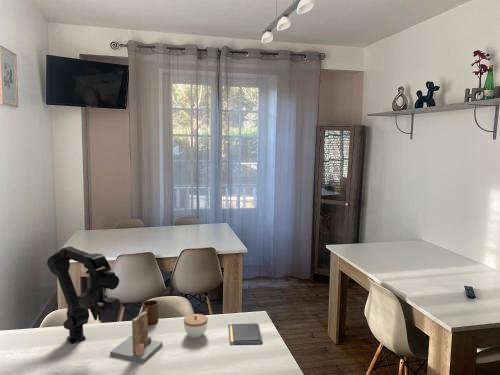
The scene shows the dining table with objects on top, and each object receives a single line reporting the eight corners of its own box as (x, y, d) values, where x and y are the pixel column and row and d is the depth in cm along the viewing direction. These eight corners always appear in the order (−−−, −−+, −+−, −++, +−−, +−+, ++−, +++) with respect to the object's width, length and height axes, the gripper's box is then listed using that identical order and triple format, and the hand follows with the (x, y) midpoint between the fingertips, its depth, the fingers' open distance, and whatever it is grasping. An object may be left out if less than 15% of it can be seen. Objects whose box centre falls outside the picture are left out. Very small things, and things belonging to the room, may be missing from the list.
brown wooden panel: (144, 342, 165) (144, 311, 164) (147, 343, 165) (147, 311, 164) (132, 353, 157) (132, 320, 156) (135, 353, 157) (135, 320, 155)
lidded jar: (211, 336, 175) (211, 317, 174) (190, 343, 169) (190, 322, 168) (200, 327, 184) (200, 308, 183) (180, 333, 178) (179, 313, 177)
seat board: (110, 355, 159) (110, 342, 158) (131, 339, 172) (130, 327, 172) (143, 362, 154) (143, 349, 153) (162, 345, 167) (162, 333, 167)
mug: (152, 329, 181) (152, 310, 180) (137, 329, 182) (136, 309, 181) (160, 318, 193) (160, 300, 192) (145, 317, 194) (145, 299, 193)
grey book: (263, 342, 169) (228, 342, 168) (263, 346, 169) (228, 346, 168) (259, 321, 189) (228, 321, 188) (259, 325, 189) (228, 325, 188)
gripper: (64, 288, 157) (65, 325, 159) (102, 294, 151) (103, 332, 153) (84, 279, 168) (85, 314, 169) (120, 285, 162) (121, 320, 164)
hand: (97, 320), depth 164 cm, fingers closed
